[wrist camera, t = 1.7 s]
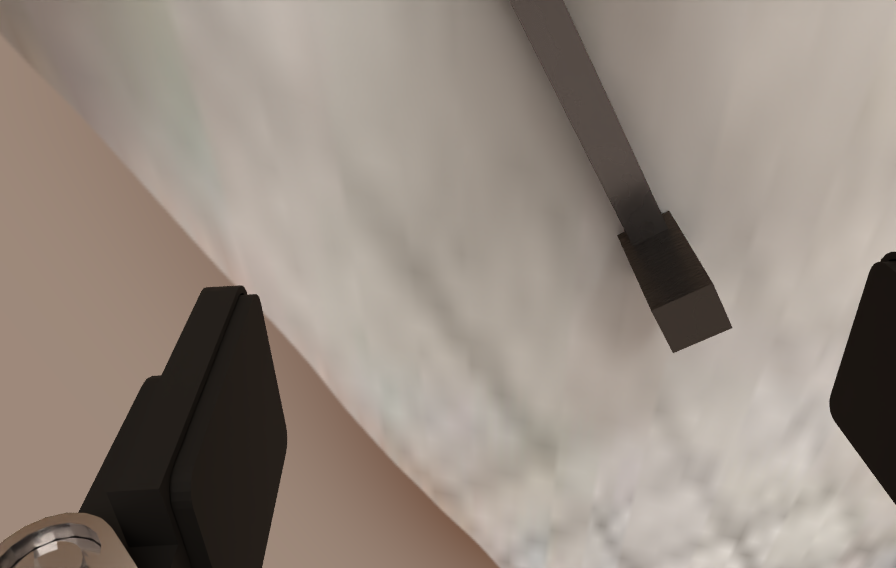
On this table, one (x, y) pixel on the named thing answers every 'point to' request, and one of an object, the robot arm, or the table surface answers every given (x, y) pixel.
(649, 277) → the hook tool
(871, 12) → the table surface
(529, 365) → the table surface
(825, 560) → the table surface
